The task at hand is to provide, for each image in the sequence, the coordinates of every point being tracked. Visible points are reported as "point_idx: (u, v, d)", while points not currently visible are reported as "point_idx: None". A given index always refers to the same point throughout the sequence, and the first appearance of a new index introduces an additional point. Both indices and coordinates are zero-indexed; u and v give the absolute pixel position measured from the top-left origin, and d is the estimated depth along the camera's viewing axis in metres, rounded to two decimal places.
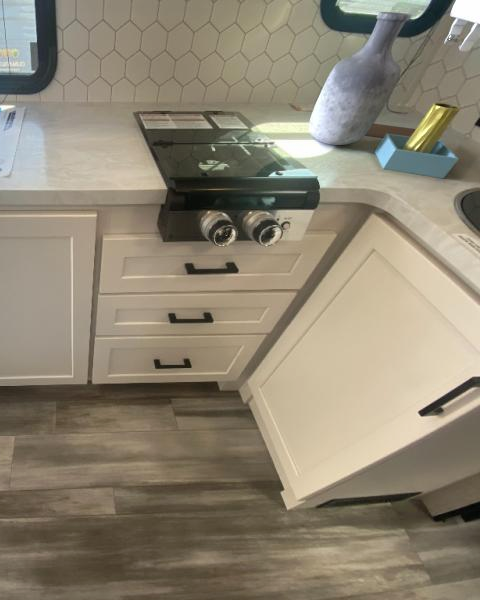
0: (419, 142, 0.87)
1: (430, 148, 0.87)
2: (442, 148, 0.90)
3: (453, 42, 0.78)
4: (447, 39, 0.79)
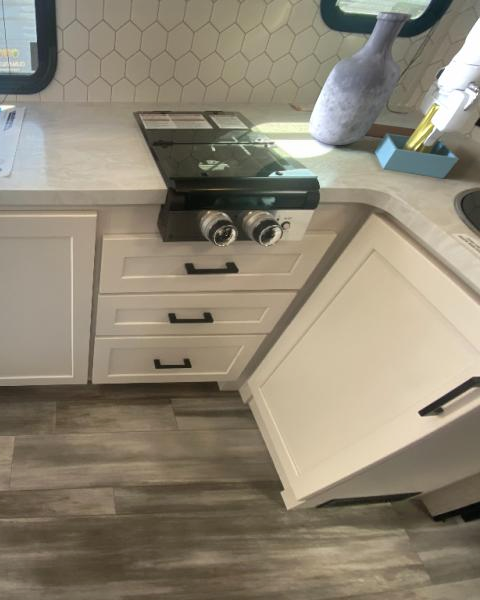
0: (419, 142, 0.87)
1: (430, 148, 0.87)
2: (442, 148, 0.90)
3: None
4: None
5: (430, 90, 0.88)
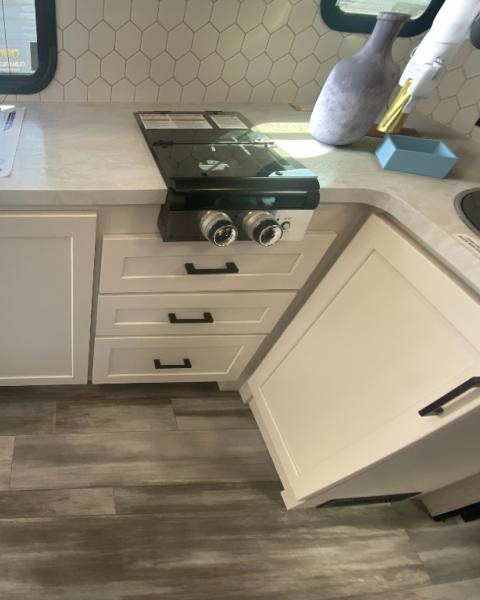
0: (397, 111, 1.05)
1: (406, 116, 1.06)
2: (442, 148, 0.90)
3: None
4: None
5: (407, 66, 1.06)
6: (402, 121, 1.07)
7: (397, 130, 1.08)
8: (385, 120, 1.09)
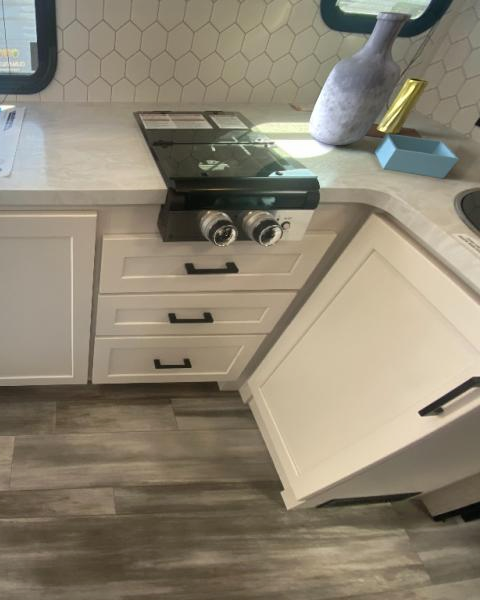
0: (397, 111, 1.05)
1: (406, 116, 1.06)
2: (442, 148, 0.90)
3: None
4: None
5: None
6: (402, 121, 1.07)
7: (397, 130, 1.08)
8: (385, 120, 1.09)
